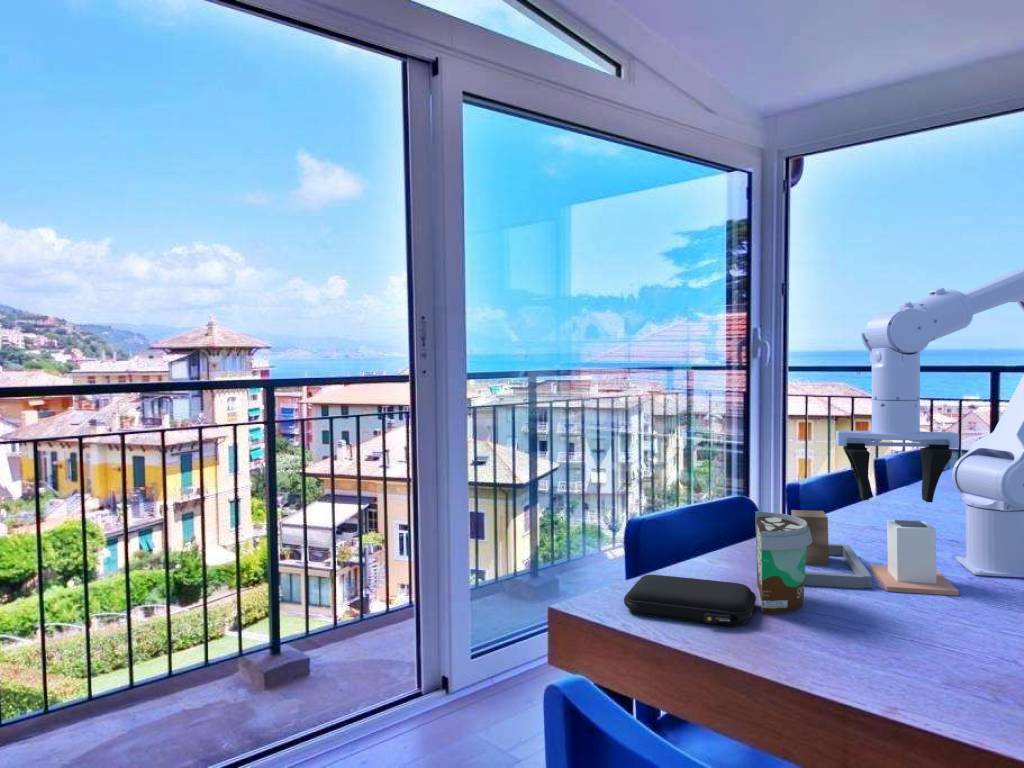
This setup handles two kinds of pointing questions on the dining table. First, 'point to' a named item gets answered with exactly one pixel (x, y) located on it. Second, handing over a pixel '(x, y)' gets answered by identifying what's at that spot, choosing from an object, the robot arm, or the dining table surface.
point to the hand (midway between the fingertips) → (895, 499)
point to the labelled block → (911, 551)
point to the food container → (781, 561)
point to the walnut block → (816, 536)
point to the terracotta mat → (913, 583)
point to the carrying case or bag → (691, 600)
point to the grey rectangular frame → (842, 580)
